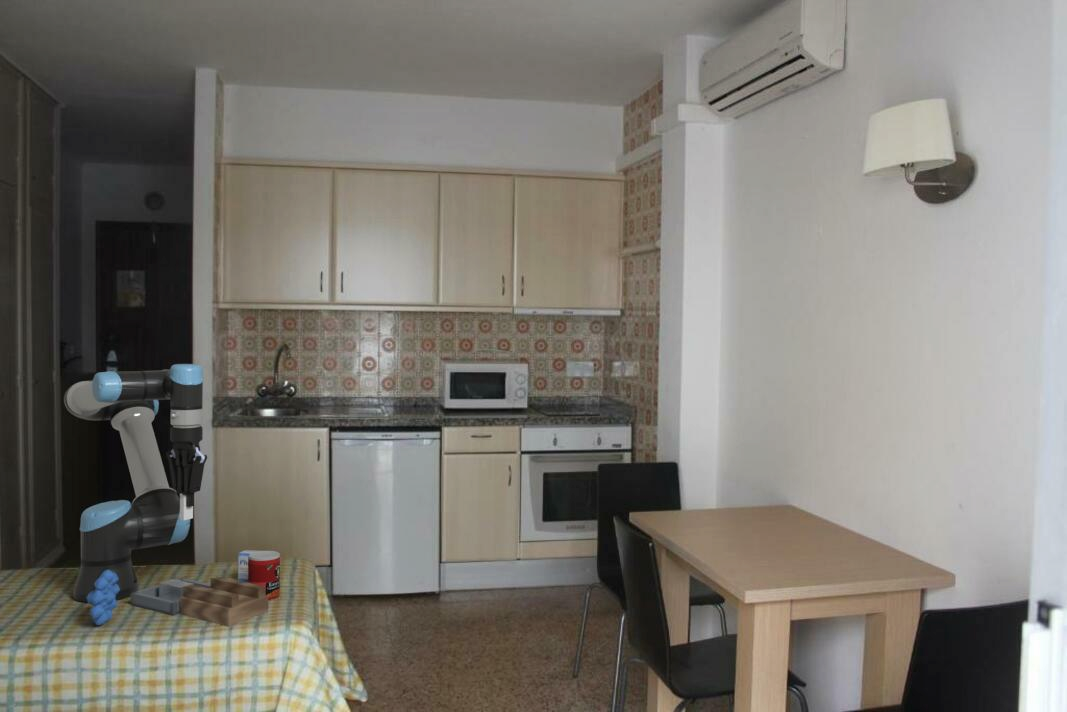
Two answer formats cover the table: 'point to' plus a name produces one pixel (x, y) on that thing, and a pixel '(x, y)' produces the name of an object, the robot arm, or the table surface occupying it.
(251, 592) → the slot block
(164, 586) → the grey stone cube
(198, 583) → the tray
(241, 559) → the medicine box
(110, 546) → the robot arm
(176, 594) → the grey cube
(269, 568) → the canned food
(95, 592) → the grapes
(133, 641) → the table surface
